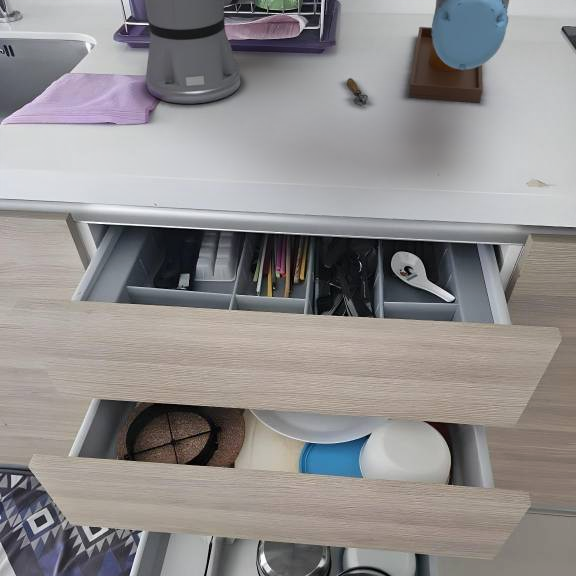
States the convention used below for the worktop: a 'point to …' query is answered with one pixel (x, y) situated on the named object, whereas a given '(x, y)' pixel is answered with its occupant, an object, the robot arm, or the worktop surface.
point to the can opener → (356, 92)
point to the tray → (442, 76)
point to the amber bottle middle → (438, 61)
